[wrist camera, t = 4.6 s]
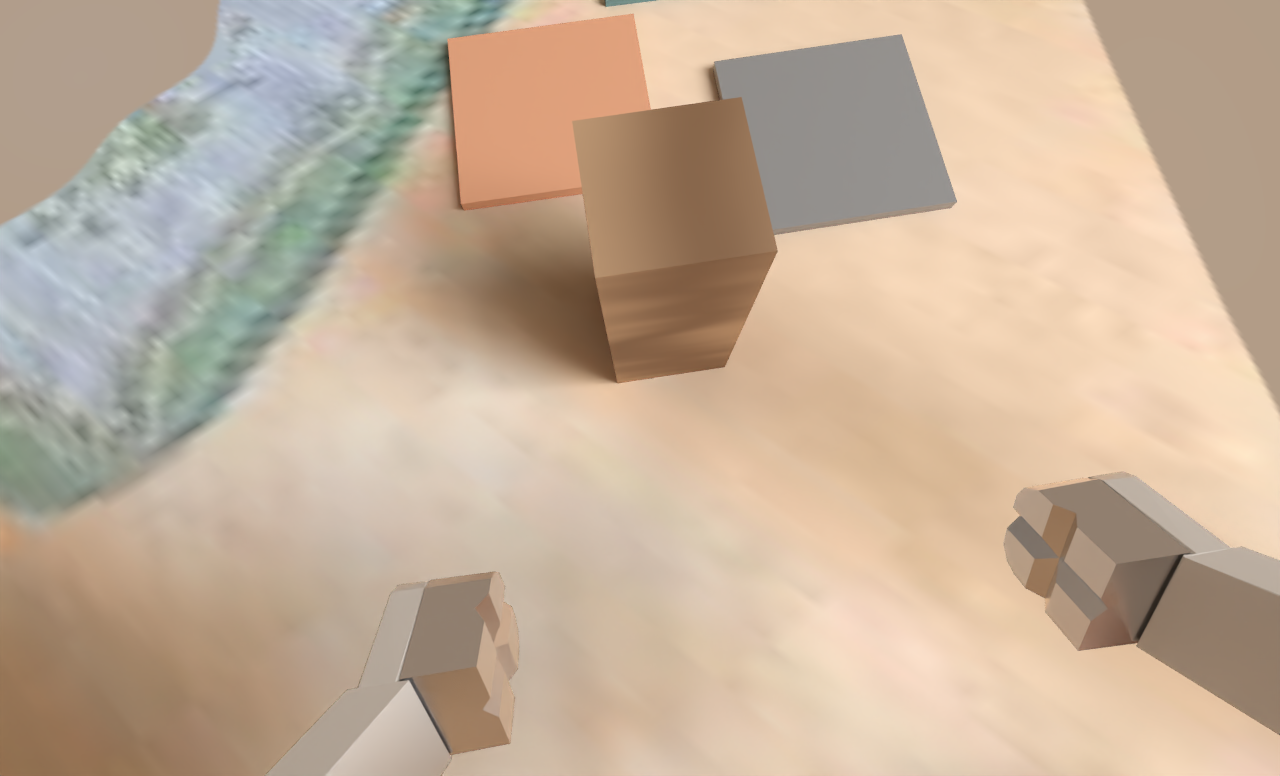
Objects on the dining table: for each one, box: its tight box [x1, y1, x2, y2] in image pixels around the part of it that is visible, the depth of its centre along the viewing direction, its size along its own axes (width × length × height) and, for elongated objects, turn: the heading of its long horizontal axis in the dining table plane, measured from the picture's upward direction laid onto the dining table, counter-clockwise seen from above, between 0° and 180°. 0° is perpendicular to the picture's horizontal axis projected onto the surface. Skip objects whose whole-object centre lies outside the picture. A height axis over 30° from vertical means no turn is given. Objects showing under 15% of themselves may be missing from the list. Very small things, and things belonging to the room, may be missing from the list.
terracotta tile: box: [448, 14, 651, 210], centre depth 24 cm, size 8×8×1 cm
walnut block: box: [572, 97, 778, 383], centre depth 17 cm, size 4×4×9 cm
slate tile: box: [713, 34, 957, 235], centre depth 24 cm, size 8×8×1 cm
